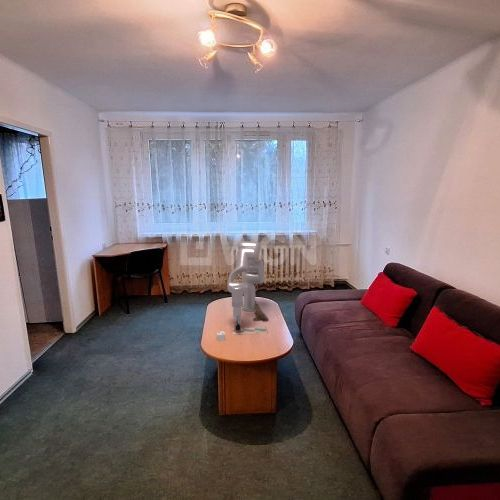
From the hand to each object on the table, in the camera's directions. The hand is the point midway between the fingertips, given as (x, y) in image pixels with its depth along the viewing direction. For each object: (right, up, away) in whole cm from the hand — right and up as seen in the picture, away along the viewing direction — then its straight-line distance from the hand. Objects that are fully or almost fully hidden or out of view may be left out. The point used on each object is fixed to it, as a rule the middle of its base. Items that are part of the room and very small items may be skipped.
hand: (237, 328), depth 222 cm
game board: (+8, -2, +1) cm, 8 cm away
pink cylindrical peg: (0, -2, 0) cm, 2 cm away
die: (-11, -5, -11) cm, 16 cm away
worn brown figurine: (+16, +1, +20) cm, 26 cm away
